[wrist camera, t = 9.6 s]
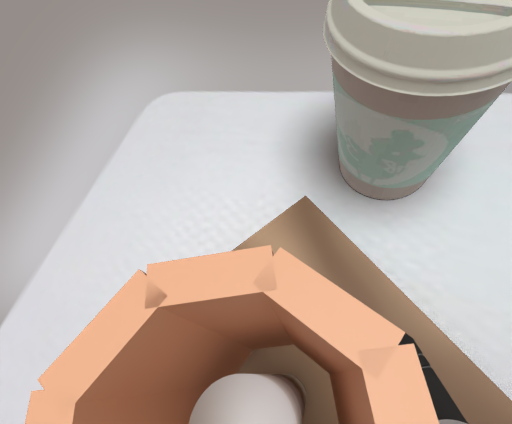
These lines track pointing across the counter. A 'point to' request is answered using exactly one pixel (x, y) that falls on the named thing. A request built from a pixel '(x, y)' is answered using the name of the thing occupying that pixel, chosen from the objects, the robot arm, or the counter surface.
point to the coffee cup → (412, 83)
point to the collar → (228, 344)
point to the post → (308, 371)
